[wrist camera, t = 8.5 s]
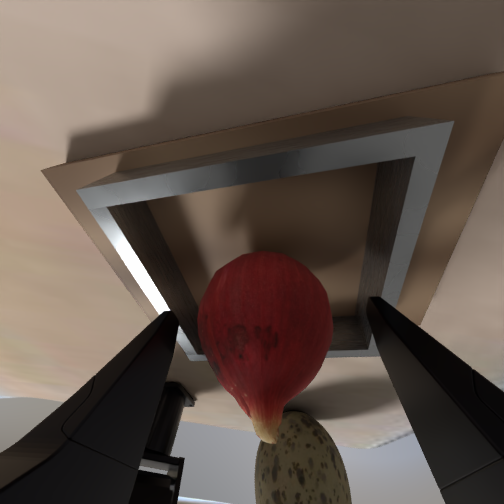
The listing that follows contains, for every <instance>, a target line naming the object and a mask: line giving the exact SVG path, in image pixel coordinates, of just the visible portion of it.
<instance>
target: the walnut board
mask: <svg viewBox="0 0 504 504" xmlns="http://www.w3.org/2000/svg"><path fill="white" fill-rule="evenodd" d="M405 116H412V117H422V118H432V119H442V120H452V121H454V124H453V127H452V130H451V134H450V137H449V140H448V143H447V146H446V149H445V153H444V156H443V159H442V162H441V165H440V169H439V172H438V175H437V178H436V181H435V184H434V188H433V191H432V194H431V197H430V200H429V203H428V207H427V210H426V213H425V216H424V219H423V223H422V226H421V229H420V232H419V235H418V238H417V242H416V245H415V248H414V251H413V254H412V257H411V261H410V264H409V267H408V270H407V273H406V277H405V280H404V283H403V286H402V289H401V292H400V296H399V299H398V302H397V305H396V309H397V310H398V311H399V312H401V313H402V314H403V315H405V316H406V317H407V318H408V319H410V320H411V321H412V322H414V323H415V324H416V325H420V324H421V322H422V320H423V317H424V315H425V313H426V311H427V309H428V306H429V304H430V302H431V300H432V297H433V295H434V293H435V291H436V288H437V286H438V284H439V282H440V279H441V277H442V275H443V273H444V270H445V268H446V266H447V264H448V262H449V259H450V257H451V255H452V253H453V250H454V248H455V246H456V244H457V241H458V239H459V237H460V235H461V232H462V230H463V228H464V226H465V223H466V221H467V219H468V217H469V214H470V212H471V210H472V208H473V206H474V203H475V201H476V199H477V197H478V194H479V192H480V190H481V188H482V185H483V183H484V181H485V179H486V176H487V174H488V172H489V170H490V167H491V165H492V163H493V161H494V159H495V156H496V154H497V152H498V150H499V147H500V145H501V143H502V141H503V138H504V72H498V73H492V74H487V75H483V76H478V77H473V78H468V79H463V80H459V81H454V82H449V83H444V84H440V85H435V86H430V87H425V88H421V89H416V90H411V91H406V92H401V93H397V94H392V95H387V96H382V97H378V98H373V99H368V100H363V101H359V102H354V103H349V104H344V105H339V106H335V107H330V108H325V109H320V110H316V111H311V112H306V113H301V114H297V115H292V116H287V117H282V118H277V119H273V120H268V121H263V122H258V123H254V124H249V125H244V126H239V127H235V128H230V129H225V130H220V131H215V132H211V133H206V134H201V135H196V136H192V137H187V138H182V139H177V140H173V141H168V142H163V143H158V144H153V145H149V146H144V147H139V148H134V149H130V150H125V151H120V152H115V153H111V154H106V155H101V156H96V157H91V158H87V159H82V160H77V161H72V162H68V163H64V164H60V165H57V166H53V167H50V168H47V169H43V170H41V172H42V173H43V174H44V176H45V177H46V178H47V180H48V181H49V183H50V184H51V185H52V187H53V188H54V189H55V191H56V192H57V194H58V195H59V196H60V198H61V199H62V200H63V202H64V203H65V204H66V206H67V207H68V209H69V210H70V211H71V213H72V214H73V215H74V217H75V218H76V220H77V221H78V222H79V224H80V225H81V226H82V228H83V229H84V231H85V232H86V233H87V235H88V236H89V237H90V239H91V240H92V241H93V243H94V244H95V246H96V247H97V248H98V250H99V251H100V252H101V254H102V255H103V257H104V258H105V259H106V261H107V262H108V263H109V265H110V266H111V267H112V269H113V270H114V272H115V273H116V274H117V276H118V277H119V278H120V280H121V281H122V283H123V284H124V285H125V287H126V288H127V289H128V291H129V292H130V294H131V295H132V296H133V298H134V299H135V300H136V302H137V303H138V304H139V306H140V307H141V309H142V310H143V311H144V313H145V314H146V315H147V317H148V318H149V320H150V321H151V322H152V321H153V320H155V319H156V318H157V317H158V316H159V313H158V312H157V310H156V309H155V307H154V306H153V304H152V303H151V301H150V300H149V298H148V297H147V295H146V294H145V292H144V291H143V289H142V288H141V286H140V285H139V283H138V282H137V280H136V279H135V278H134V276H133V275H132V273H131V272H130V270H129V269H128V267H127V266H126V264H125V263H124V261H123V260H122V258H121V257H120V255H119V254H118V252H117V251H116V249H115V248H114V246H113V245H112V243H111V242H110V240H109V239H108V237H107V236H106V234H105V233H104V231H103V230H102V228H101V227H100V225H99V224H98V223H97V221H96V220H95V218H94V217H93V215H92V214H91V212H90V211H89V209H88V208H87V206H86V205H85V203H84V202H83V200H82V199H81V197H80V196H79V194H78V193H77V191H76V190H77V189H79V188H81V187H84V186H86V185H88V184H90V183H93V182H95V181H97V180H99V179H101V178H104V177H106V176H108V175H110V174H112V173H115V172H119V171H124V170H129V169H135V168H140V167H145V166H150V165H155V164H161V163H166V162H171V161H176V160H181V159H186V158H192V157H197V156H202V155H207V154H212V153H218V152H223V151H228V150H233V149H238V148H244V147H249V146H254V145H259V144H264V143H270V142H275V141H280V140H285V139H290V138H296V137H301V136H306V135H311V134H316V133H322V132H327V131H332V130H337V129H342V128H348V127H353V126H358V125H363V124H368V123H374V122H379V121H384V120H389V119H394V118H400V117H405ZM377 165H378V162H377V163H371V164H365V165H359V166H352V167H346V168H340V169H334V170H328V171H322V172H316V173H310V174H304V175H297V176H291V177H285V178H279V179H273V180H267V181H261V182H255V183H248V184H242V185H236V186H230V187H224V188H218V189H212V190H206V191H199V192H193V193H187V194H181V195H175V196H169V197H163V198H157V199H151V200H146V202H147V204H148V206H149V208H150V210H151V212H152V214H153V216H154V218H155V220H156V222H157V224H158V226H159V228H160V231H161V233H162V235H163V237H164V239H165V241H166V243H167V245H168V247H169V249H170V251H171V253H172V255H173V257H174V259H175V261H176V263H177V265H178V267H179V269H180V271H181V273H182V275H183V277H184V279H185V281H186V283H187V285H188V287H189V289H190V291H191V293H192V295H193V297H194V299H195V301H196V303H197V306H198V308H199V306H200V301H201V299H202V297H203V295H204V293H205V291H206V289H207V287H208V285H209V283H210V281H211V279H212V277H213V276H214V274H215V272H216V271H217V270H218V269H220V268H221V267H223V266H224V265H226V264H227V263H229V262H230V261H232V260H234V259H235V258H237V257H239V256H240V255H242V254H247V253H253V252H258V251H269V252H278V253H283V254H285V255H287V256H289V257H291V258H293V259H295V260H297V261H299V262H300V263H302V264H303V265H305V266H306V267H307V268H308V269H309V270H310V271H311V272H312V273H313V274H314V275H315V276H316V277H317V278H318V279H319V280H320V282H321V284H322V285H323V287H324V288H325V290H326V292H327V295H328V299H329V304H330V309H331V314H332V317H337V316H355V310H356V304H357V297H358V290H359V284H360V277H361V271H362V264H363V257H364V251H365V244H366V238H367V231H368V224H369V218H370V211H371V205H372V198H373V191H374V185H375V178H376V172H377Z"/></svg>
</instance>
